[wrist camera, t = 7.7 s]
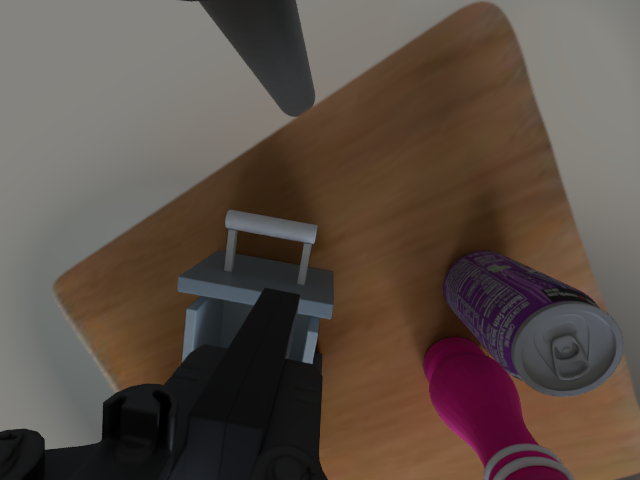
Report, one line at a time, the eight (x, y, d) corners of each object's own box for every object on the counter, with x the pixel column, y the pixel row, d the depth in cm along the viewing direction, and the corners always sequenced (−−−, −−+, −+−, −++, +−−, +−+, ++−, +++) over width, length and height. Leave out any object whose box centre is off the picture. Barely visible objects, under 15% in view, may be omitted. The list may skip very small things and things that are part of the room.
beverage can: (523, 303, 30) (644, 383, 18) (453, 326, 30) (524, 417, 19) (502, 238, 28) (617, 278, 17) (430, 264, 29) (491, 319, 18)
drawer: (223, 199, 28) (183, 208, 20) (343, 221, 28) (347, 238, 20) (205, 370, 32) (165, 431, 24) (310, 389, 32) (303, 456, 24)
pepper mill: (408, 344, 31) (523, 618, 12) (476, 322, 30) (726, 579, 11) (431, 401, 32) (569, 737, 13) (497, 381, 31) (757, 712, 12)
